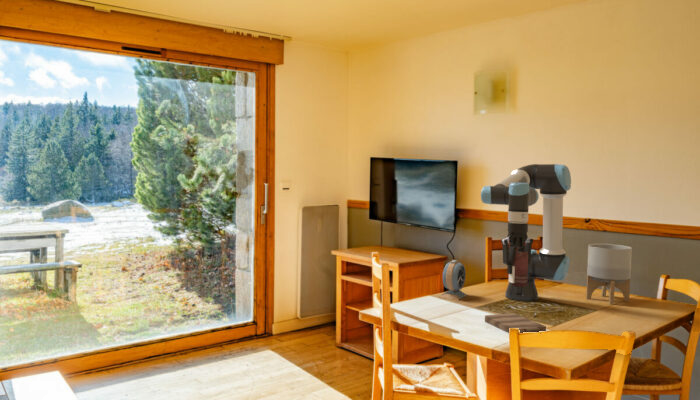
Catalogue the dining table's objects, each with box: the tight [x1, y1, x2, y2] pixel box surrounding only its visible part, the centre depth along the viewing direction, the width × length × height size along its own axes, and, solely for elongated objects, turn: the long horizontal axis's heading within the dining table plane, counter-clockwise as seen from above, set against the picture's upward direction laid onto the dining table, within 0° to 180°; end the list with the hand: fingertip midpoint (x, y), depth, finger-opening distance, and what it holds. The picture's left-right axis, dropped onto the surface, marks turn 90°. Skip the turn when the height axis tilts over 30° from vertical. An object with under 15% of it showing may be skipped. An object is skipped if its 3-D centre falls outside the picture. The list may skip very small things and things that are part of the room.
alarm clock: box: [439, 259, 468, 301], centre depth 265 cm, size 14×10×18 cm
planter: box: [585, 243, 633, 306], centre depth 263 cm, size 19×19×26 cm
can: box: [511, 249, 528, 287], centre depth 214 cm, size 6×6×14 cm
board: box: [484, 312, 547, 334], centre depth 213 cm, size 22×14×2 cm, turn 19°
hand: (515, 281), depth 214 cm, fingers open, 3 cm apart
